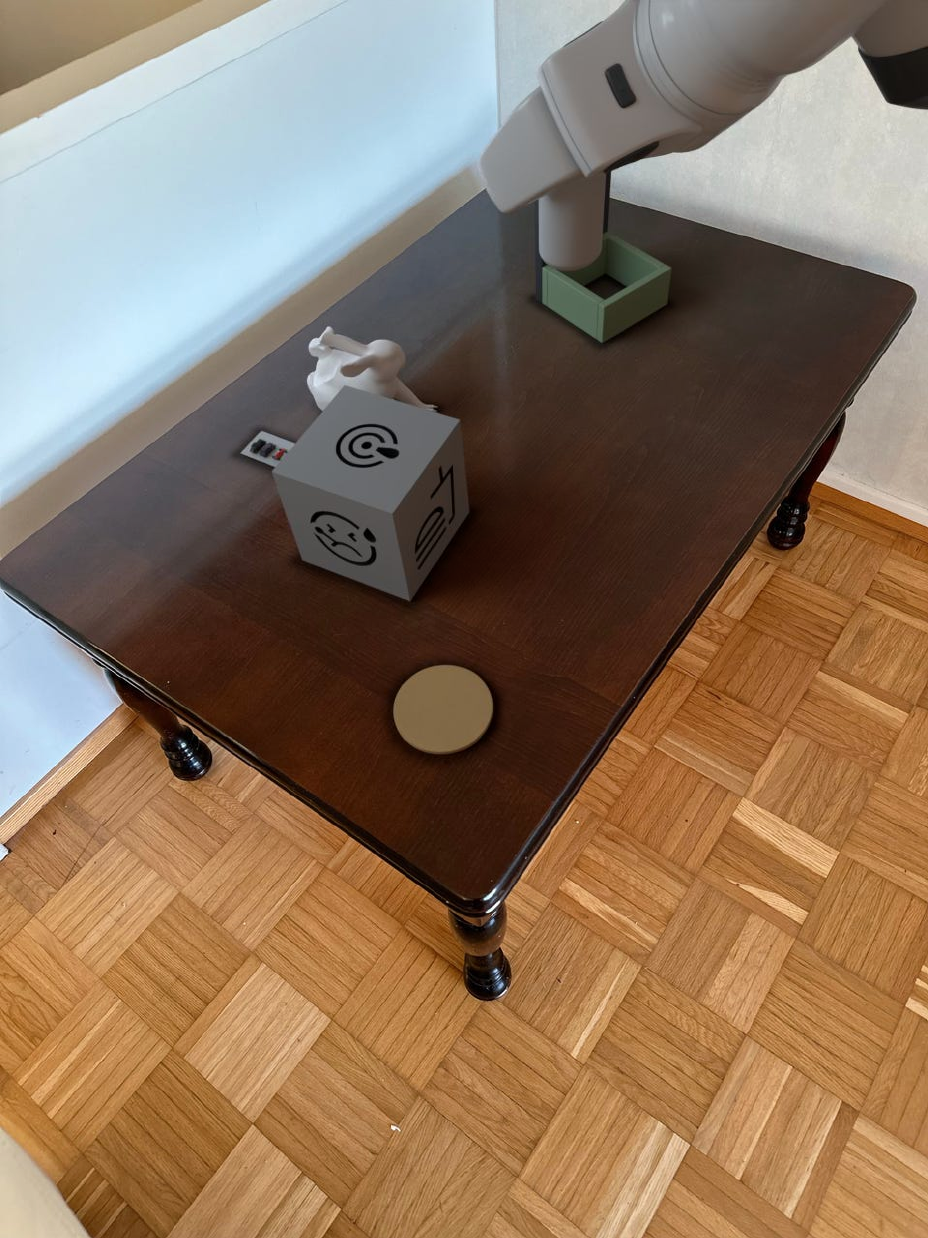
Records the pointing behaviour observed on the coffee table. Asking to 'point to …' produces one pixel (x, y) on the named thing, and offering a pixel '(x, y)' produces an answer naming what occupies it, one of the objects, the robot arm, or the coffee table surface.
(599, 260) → the stand
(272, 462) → the toy car tray
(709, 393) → the coffee table surface
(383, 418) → the icon cube
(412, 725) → the coaster
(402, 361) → the rabbit figurine
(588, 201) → the beverage can
